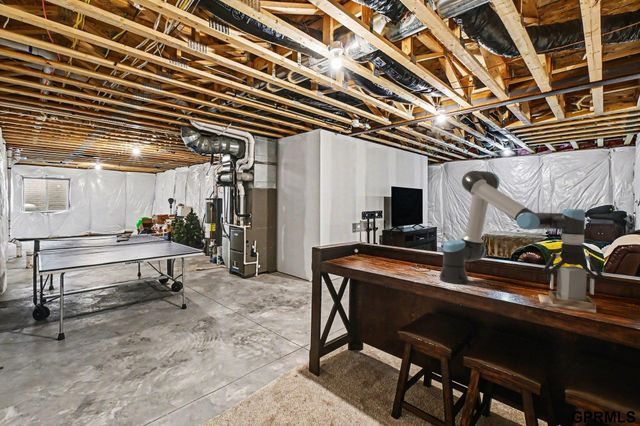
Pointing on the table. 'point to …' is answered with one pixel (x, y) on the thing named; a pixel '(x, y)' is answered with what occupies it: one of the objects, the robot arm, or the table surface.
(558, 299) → the socket board
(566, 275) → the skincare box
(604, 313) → the table surface
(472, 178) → the robot arm
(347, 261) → the table surface
